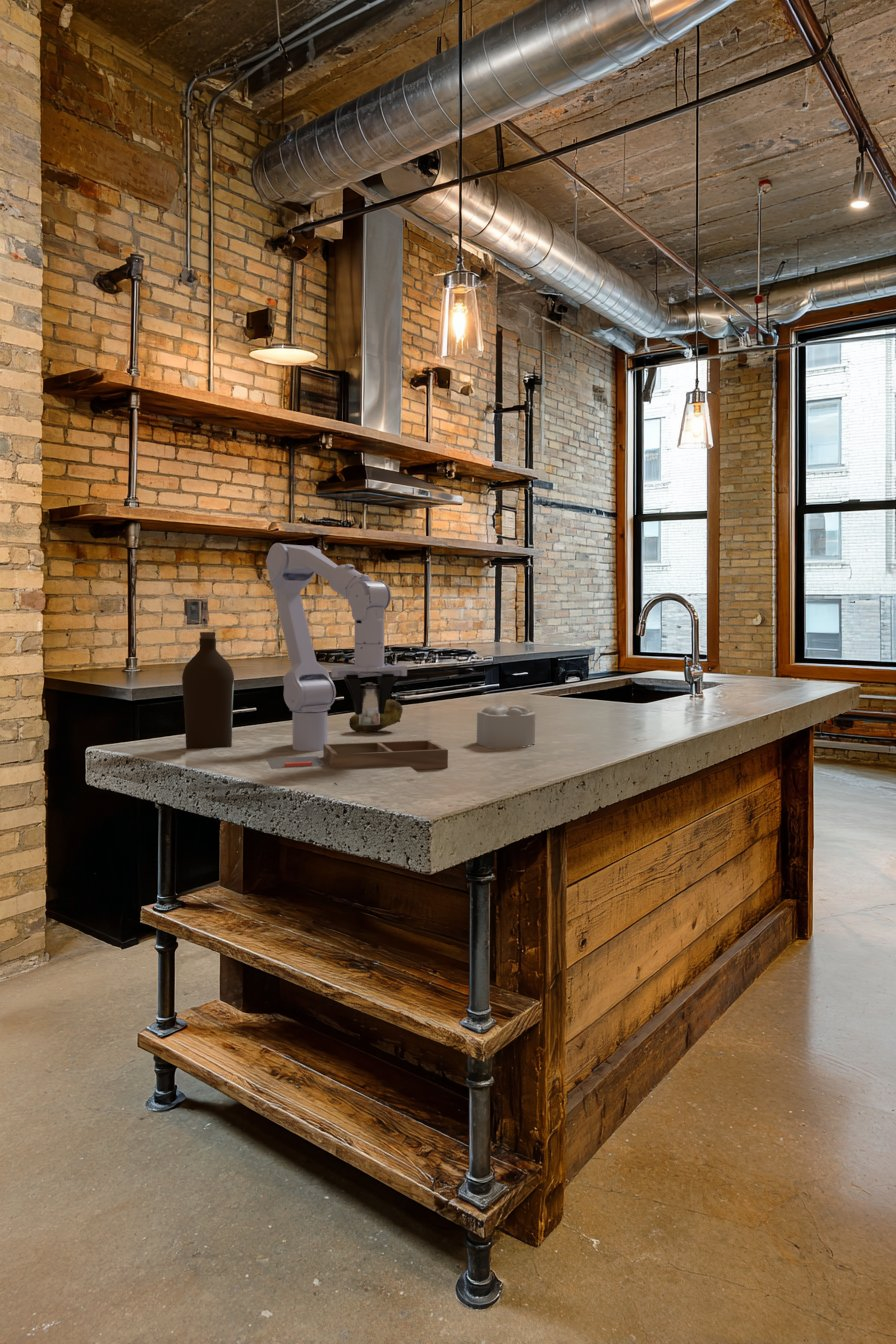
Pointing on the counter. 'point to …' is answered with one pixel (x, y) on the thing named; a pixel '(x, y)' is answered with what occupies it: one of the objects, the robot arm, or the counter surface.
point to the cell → (370, 704)
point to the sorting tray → (387, 754)
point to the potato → (386, 719)
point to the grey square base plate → (295, 762)
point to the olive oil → (208, 697)
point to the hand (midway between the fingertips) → (369, 713)
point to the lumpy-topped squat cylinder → (505, 727)
